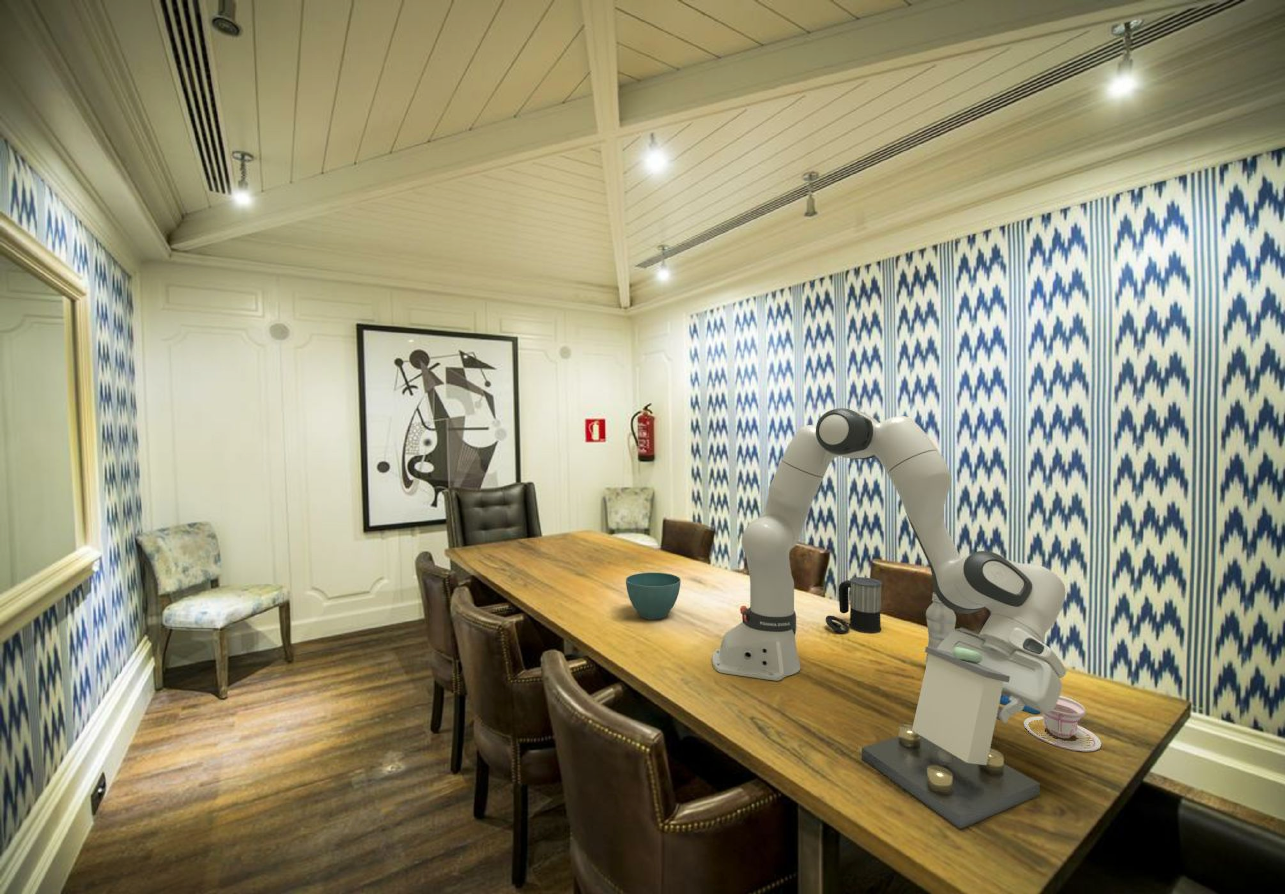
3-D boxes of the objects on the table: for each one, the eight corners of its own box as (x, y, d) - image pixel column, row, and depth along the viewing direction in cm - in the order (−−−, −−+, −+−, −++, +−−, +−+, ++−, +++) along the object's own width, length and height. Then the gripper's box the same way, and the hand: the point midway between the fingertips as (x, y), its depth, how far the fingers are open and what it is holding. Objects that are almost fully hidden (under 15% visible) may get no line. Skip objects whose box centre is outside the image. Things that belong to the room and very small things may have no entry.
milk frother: (886, 628, 163) (886, 580, 162) (868, 642, 151) (868, 591, 151) (840, 617, 172) (840, 572, 172) (820, 630, 160) (820, 582, 160)
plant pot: (623, 607, 182) (623, 572, 182) (675, 605, 184) (675, 571, 184) (628, 626, 164) (628, 587, 164) (685, 624, 166) (685, 585, 166)
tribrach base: (960, 829, 78) (960, 800, 78) (861, 758, 96) (861, 734, 96) (1039, 795, 86) (1039, 768, 86) (934, 735, 103) (934, 713, 103)
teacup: (1025, 713, 112) (1025, 684, 112) (1099, 732, 104) (1100, 701, 104) (1021, 737, 103) (1021, 706, 103) (1103, 761, 95) (1103, 727, 95)
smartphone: (1054, 691, 121) (1037, 712, 111) (1053, 695, 121) (1037, 716, 111) (1015, 680, 126) (996, 699, 116) (1015, 684, 126) (996, 703, 116)
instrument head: (964, 781, 84) (990, 659, 86) (904, 743, 95) (928, 635, 97) (988, 783, 86) (1012, 664, 89) (926, 746, 97) (949, 641, 99)
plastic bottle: (961, 681, 126) (961, 598, 126) (930, 678, 128) (930, 597, 127) (950, 669, 133) (951, 591, 132) (921, 667, 134) (922, 589, 134)
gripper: (947, 615, 106) (912, 672, 102) (1062, 653, 87) (1024, 724, 83) (962, 634, 108) (928, 690, 104) (1077, 675, 89) (1041, 746, 85)
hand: (972, 706), depth 93 cm, fingers open, 8 cm apart
